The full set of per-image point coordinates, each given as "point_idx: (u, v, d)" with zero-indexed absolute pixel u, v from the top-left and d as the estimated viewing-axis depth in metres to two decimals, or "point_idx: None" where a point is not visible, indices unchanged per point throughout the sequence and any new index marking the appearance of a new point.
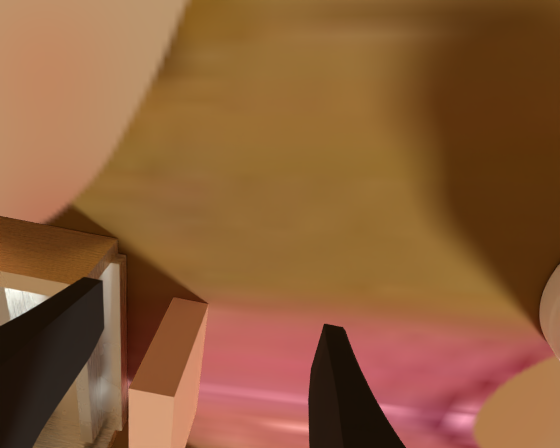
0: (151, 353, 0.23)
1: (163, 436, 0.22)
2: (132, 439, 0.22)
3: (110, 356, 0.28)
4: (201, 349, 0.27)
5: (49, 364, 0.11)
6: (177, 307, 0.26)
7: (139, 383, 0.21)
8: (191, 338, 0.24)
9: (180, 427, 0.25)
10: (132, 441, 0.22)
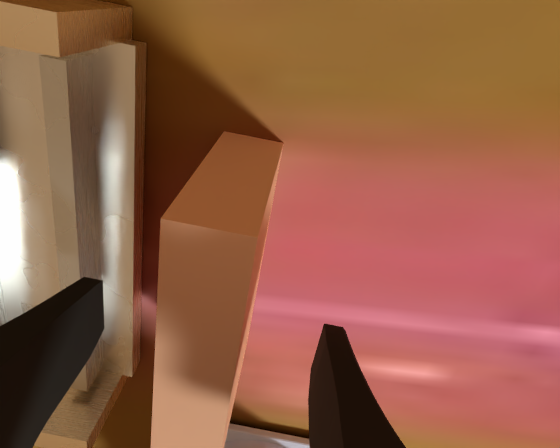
0: (199, 181, 0.12)
1: (224, 337, 0.11)
2: (162, 346, 0.11)
3: (117, 242, 0.17)
4: (267, 226, 0.17)
5: (49, 364, 0.11)
6: (233, 140, 0.15)
7: (182, 214, 0.10)
8: (266, 171, 0.13)
9: (243, 341, 0.14)
10: (162, 350, 0.12)
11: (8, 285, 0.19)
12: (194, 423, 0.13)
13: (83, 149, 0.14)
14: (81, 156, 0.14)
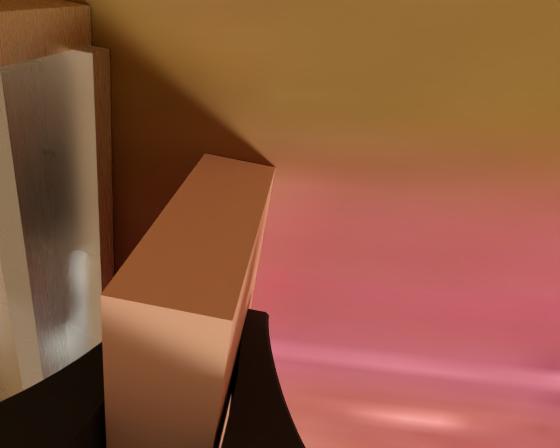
0: (163, 229, 0.09)
1: (194, 434, 0.09)
2: (116, 442, 0.09)
3: (82, 281, 0.15)
4: (257, 265, 0.14)
5: None
6: (214, 167, 0.12)
7: (132, 285, 0.07)
8: (251, 210, 0.10)
9: (224, 415, 0.11)
10: (115, 447, 0.09)
11: None
12: None
13: (33, 177, 0.12)
14: (30, 186, 0.12)
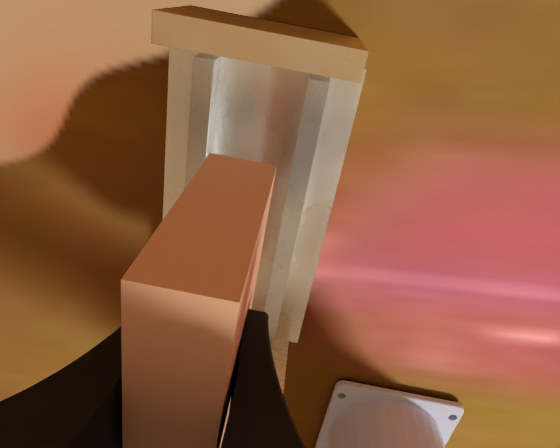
0: (174, 222, 0.10)
1: (203, 409, 0.09)
2: (131, 417, 0.10)
3: (312, 227, 0.21)
4: (259, 258, 0.15)
5: None
6: (219, 165, 0.13)
7: (148, 271, 0.08)
8: (255, 205, 0.11)
9: (229, 397, 0.12)
10: (130, 422, 0.10)
11: None
12: None
13: None
14: None
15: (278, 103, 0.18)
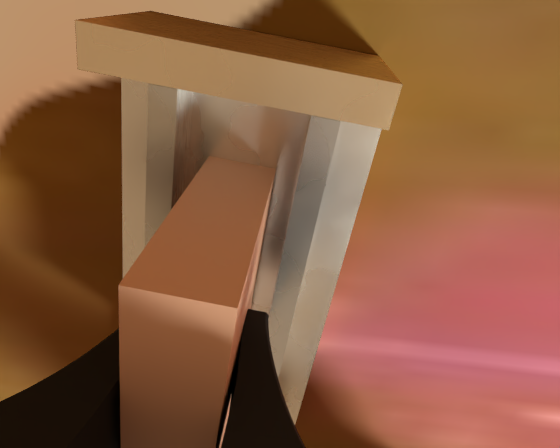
0: (172, 226, 0.10)
1: (201, 415, 0.09)
2: (129, 422, 0.10)
3: (314, 295, 0.16)
4: (258, 261, 0.15)
5: None
6: (218, 168, 0.13)
7: (146, 276, 0.08)
8: (253, 209, 0.11)
9: (227, 401, 0.12)
10: (128, 427, 0.10)
11: None
12: None
13: None
14: None
15: (269, 143, 0.14)
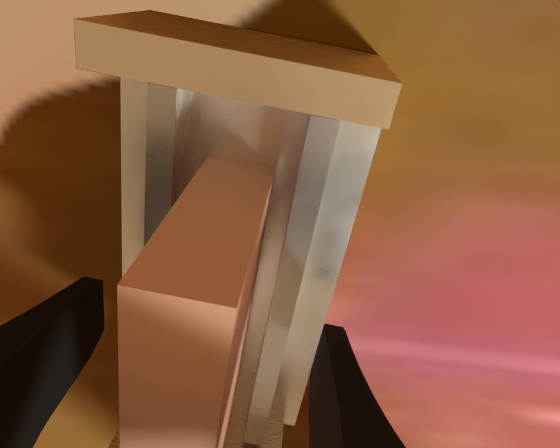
0: (171, 226, 0.10)
1: (200, 415, 0.09)
2: (128, 422, 0.10)
3: (314, 295, 0.16)
4: (258, 261, 0.15)
5: (49, 364, 0.11)
6: (217, 168, 0.13)
7: (145, 276, 0.08)
8: (253, 209, 0.11)
9: (227, 401, 0.12)
10: (127, 427, 0.10)
11: None
12: None
13: None
14: None
15: (269, 142, 0.14)
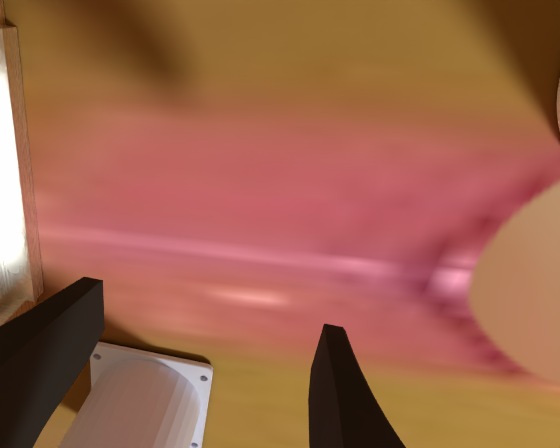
0: None
1: None
2: None
3: (8, 185, 0.22)
4: None
5: (49, 364, 0.11)
6: None
7: None
8: None
9: None
10: None
11: None
12: None
13: None
14: None
15: None
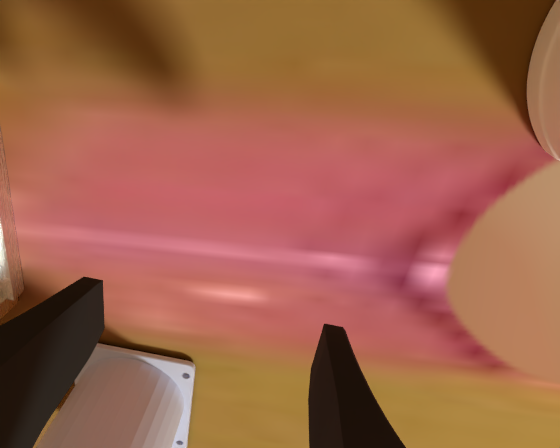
0: None
1: None
2: None
3: None
4: None
5: (49, 364, 0.11)
6: None
7: None
8: None
9: None
10: None
11: None
12: None
13: None
14: None
15: None
